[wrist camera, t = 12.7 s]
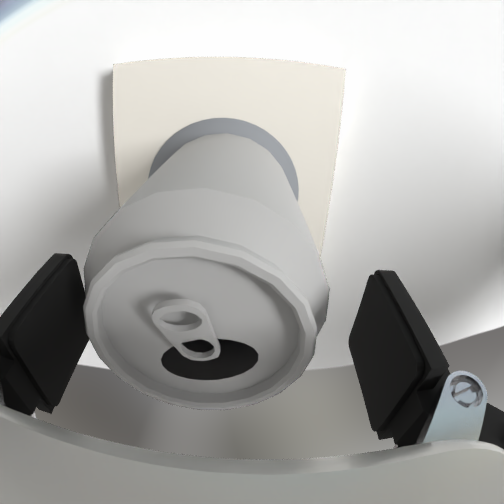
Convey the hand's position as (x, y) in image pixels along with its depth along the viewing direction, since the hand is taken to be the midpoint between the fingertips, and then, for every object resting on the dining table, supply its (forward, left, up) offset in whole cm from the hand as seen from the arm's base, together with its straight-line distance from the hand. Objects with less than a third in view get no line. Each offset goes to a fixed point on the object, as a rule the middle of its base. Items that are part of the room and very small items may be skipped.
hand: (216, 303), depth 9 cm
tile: (+1, 0, -11) cm, 11 cm away
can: (0, 0, -10) cm, 10 cm away
